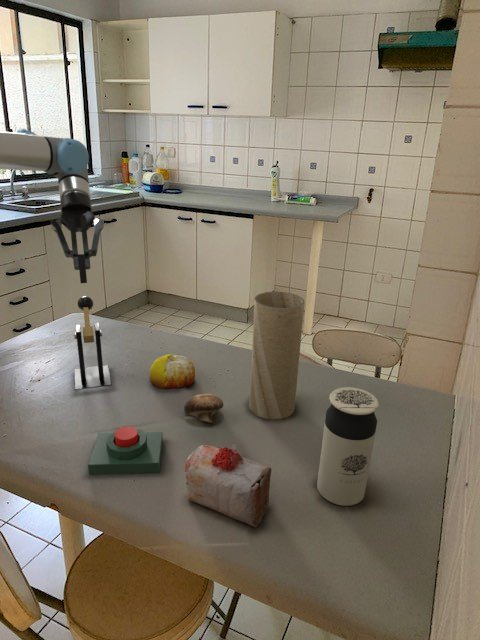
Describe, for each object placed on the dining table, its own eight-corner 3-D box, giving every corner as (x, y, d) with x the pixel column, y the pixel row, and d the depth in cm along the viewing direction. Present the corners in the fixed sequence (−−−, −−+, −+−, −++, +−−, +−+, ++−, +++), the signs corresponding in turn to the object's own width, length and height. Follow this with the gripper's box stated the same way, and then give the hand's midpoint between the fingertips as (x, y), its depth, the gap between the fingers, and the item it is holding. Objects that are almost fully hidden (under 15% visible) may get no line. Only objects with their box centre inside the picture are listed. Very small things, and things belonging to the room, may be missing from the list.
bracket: (74, 373, 113) (68, 320, 107) (108, 369, 115) (104, 317, 110) (75, 394, 104) (68, 338, 99) (112, 389, 106) (107, 334, 101)
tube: (274, 389, 109) (282, 288, 99) (303, 410, 101) (314, 302, 92) (240, 402, 103) (244, 296, 94) (268, 424, 96) (276, 312, 86)
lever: (77, 304, 113) (76, 293, 110) (93, 303, 114) (92, 292, 112) (80, 345, 105) (79, 334, 102) (97, 343, 106) (96, 333, 103)
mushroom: (217, 421, 90) (211, 390, 92) (181, 429, 93) (175, 398, 94) (231, 419, 98) (225, 390, 99) (197, 426, 100) (192, 398, 101)
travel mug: (315, 471, 83) (326, 384, 76) (360, 476, 82) (375, 388, 75) (318, 504, 76) (330, 411, 69) (367, 509, 75) (384, 415, 68)
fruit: (179, 398, 103) (170, 365, 101) (145, 396, 109) (135, 365, 107) (207, 376, 112) (198, 345, 110) (174, 376, 118) (165, 347, 116)
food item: (177, 502, 75) (176, 452, 71) (203, 472, 82) (203, 426, 78) (253, 535, 69) (257, 483, 66) (274, 500, 76) (278, 451, 72)
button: (113, 448, 81) (112, 439, 81) (117, 434, 85) (116, 426, 84) (136, 447, 82) (136, 439, 81) (139, 433, 85) (138, 425, 85)
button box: (89, 474, 80) (86, 456, 79) (99, 442, 88) (97, 424, 87) (159, 472, 81) (158, 454, 80) (162, 441, 89) (162, 423, 88)
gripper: (101, 208, 125) (111, 285, 117) (50, 208, 121) (56, 289, 113) (101, 190, 118) (111, 271, 110) (46, 190, 114) (53, 274, 106)
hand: (83, 280), depth 111 cm, fingers closed
